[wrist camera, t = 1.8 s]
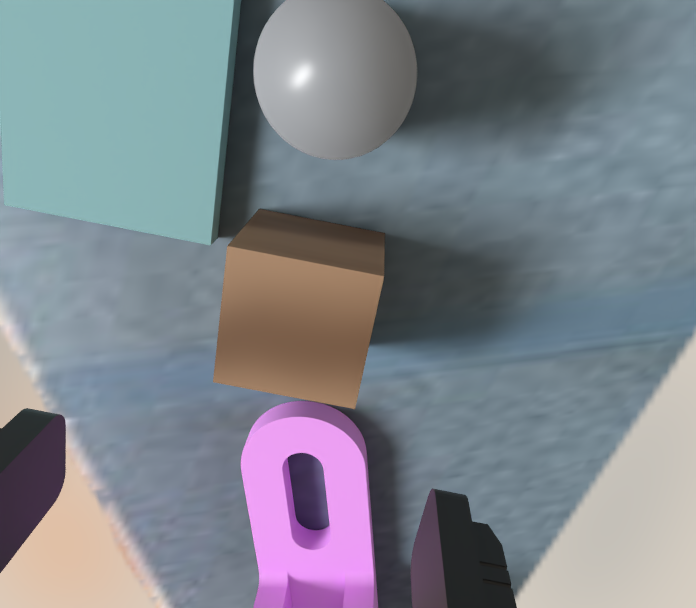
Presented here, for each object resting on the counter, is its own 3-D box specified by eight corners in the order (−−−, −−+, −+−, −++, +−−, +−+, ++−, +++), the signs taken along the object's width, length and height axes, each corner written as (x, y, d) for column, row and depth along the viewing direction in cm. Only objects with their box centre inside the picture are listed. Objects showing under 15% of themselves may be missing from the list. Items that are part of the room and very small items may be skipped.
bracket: (378, 609, 31) (375, 753, 25) (274, 609, 31) (245, 750, 25) (362, 397, 26) (353, 508, 20) (239, 401, 27) (191, 510, 20)
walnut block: (259, 208, 23) (227, 246, 18) (384, 232, 23) (384, 276, 18) (245, 322, 25) (213, 381, 20) (360, 344, 25) (354, 409, 20)
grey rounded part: (295, -9, 20) (264, -33, 15) (422, 16, 20) (434, 1, 15) (278, 123, 22) (244, 143, 17) (395, 146, 22) (397, 173, 17)
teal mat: (8, -95, 19) (-11, -103, 19) (245, -47, 20) (238, -52, 19) (19, 199, 23) (4, 204, 22) (217, 238, 23) (210, 245, 22)
